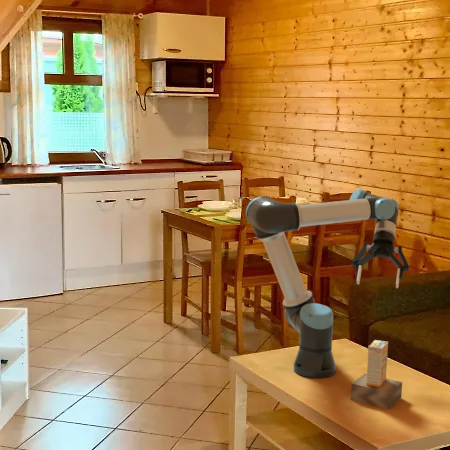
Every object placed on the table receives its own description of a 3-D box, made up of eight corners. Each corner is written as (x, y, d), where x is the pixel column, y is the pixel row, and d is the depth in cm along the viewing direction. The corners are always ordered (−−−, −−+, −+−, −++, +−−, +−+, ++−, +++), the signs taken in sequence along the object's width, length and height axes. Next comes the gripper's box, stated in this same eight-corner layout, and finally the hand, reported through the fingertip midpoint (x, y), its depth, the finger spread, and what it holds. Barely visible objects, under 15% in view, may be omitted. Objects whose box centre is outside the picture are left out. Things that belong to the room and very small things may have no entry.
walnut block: (350, 401, 231) (351, 383, 230) (364, 390, 240) (364, 373, 239) (388, 410, 224) (389, 392, 223) (401, 399, 233) (402, 382, 232)
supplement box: (380, 388, 227) (382, 348, 225) (365, 385, 229) (367, 346, 227) (386, 379, 234) (388, 341, 232) (372, 377, 236) (374, 339, 234)
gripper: (419, 244, 261) (413, 293, 250) (351, 239, 269) (342, 286, 258) (419, 232, 256) (413, 281, 244) (349, 227, 264) (340, 275, 252)
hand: (377, 284), depth 251 cm, fingers open, 13 cm apart
